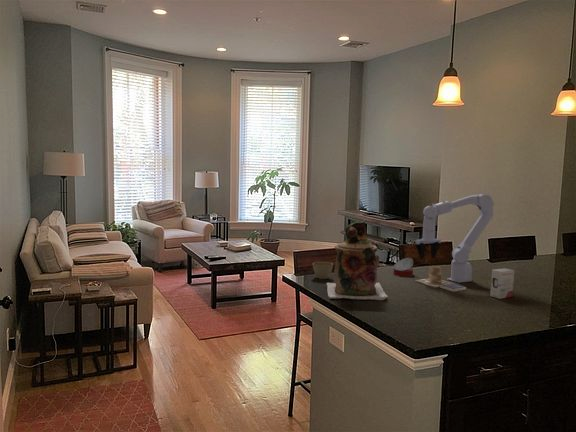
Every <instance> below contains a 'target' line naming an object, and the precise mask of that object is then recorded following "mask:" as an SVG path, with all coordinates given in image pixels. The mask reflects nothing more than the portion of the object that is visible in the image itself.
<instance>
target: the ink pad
mask: <svg viewBox="0 0 576 432" xmlns="http://www.w3.org/2000/svg"><path fill="white" fill-rule="evenodd" d="M439 288H440V289H444V290H445V291H446V290H447V291H450V292H461V291H466V290H467V287H465V286H462V285H460V284H456V283H455V284H445V285H440V287H439Z"/></svg>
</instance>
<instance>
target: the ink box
mask: <svg viewBox="0 0 576 432" xmlns="http://www.w3.org/2000/svg"><path fill="white" fill-rule="evenodd" d="M490 278H491V280H490V282H491V283H490V296H489V297H493V298H496V299H499V300H501V299H507V298H511V297H513V293H514V291H513V290H514V280H515V279H514V278H515V270H514V269H510V268H506V267H505V268H495V269H491V277H490Z"/></svg>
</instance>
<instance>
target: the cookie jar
mask: <svg viewBox="0 0 576 432" xmlns="http://www.w3.org/2000/svg"><path fill="white" fill-rule="evenodd" d="M366 221H367V220H366V219H364V220H363V221H357V222H353V223H350V224H348V225H347V226H346V227H345V230H344V231H345V236H346V239H345V240H344V241H343V242H340V243H337V244H335V245H334V249H335V251H336V257H335V258H336V259H335V264H334V271H333V274H334V276H333V277H334V281H335V282H326V287H327V290H326V291H327V297H328V298H329V299H331V300H332V299H336V300H337V299H350V300H365V301H367V300H368V301H384V300H386V298H388V296H389V295H388V294H386V292H385V291H384V290H383V287H382V285H381V282H378V281H377V280H378V273H377V272H378V267H379V265H380V256H379V255H378V254H377V255H376V252H377V251H378V247H377V246H376V245H374V244H372V243H371V242H370V241H369V240H368V238H367V234H368V233H367V229H366V227H367V226H366V224H365V223H366Z"/></svg>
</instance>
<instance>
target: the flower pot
mask: <svg viewBox="0 0 576 432" xmlns="http://www.w3.org/2000/svg"><path fill="white" fill-rule="evenodd" d="M312 268H313V272H314V274H315V276H316V278H317V279H318V278H319V279H318V280H326V279H328V278H329V277H330V275H331V273H332V271H333V268H334V263H333V262H328V261H326V262H325V261H316V262H312Z"/></svg>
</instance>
